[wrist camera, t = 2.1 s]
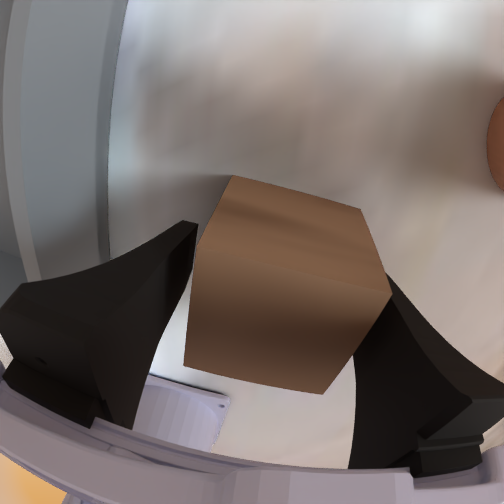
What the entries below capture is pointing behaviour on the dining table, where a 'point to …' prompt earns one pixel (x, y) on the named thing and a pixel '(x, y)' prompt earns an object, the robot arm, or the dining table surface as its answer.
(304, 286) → the walnut block
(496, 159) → the terracotta cylinder
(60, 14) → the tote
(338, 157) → the dining table surface
